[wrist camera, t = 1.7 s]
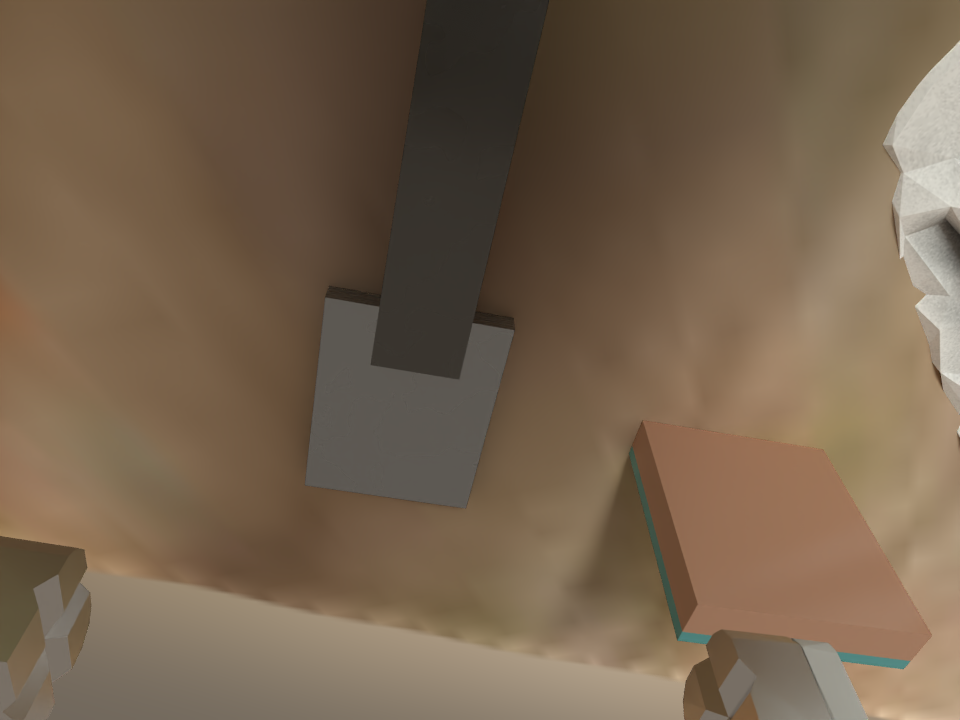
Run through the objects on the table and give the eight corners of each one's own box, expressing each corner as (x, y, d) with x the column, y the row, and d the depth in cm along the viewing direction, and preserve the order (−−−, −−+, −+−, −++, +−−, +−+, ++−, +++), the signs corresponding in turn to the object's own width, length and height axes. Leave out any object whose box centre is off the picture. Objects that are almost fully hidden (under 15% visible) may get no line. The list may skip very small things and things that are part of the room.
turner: (379, -166, 18) (357, -170, 14) (627, -104, 18) (661, -93, 15) (308, 470, 28) (287, 552, 25) (465, 493, 29) (465, 576, 26)
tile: (642, 420, 27) (697, 604, 21) (823, 449, 28) (932, 635, 21) (628, 453, 28) (677, 640, 21) (804, 481, 29) (903, 669, 22)
